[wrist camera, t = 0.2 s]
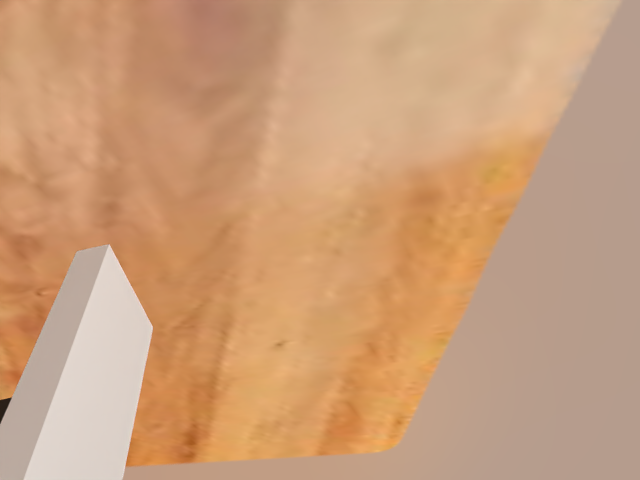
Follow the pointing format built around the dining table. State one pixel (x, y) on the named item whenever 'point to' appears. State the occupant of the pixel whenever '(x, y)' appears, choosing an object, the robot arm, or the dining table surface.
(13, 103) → the dining table surface
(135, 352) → the robot arm
